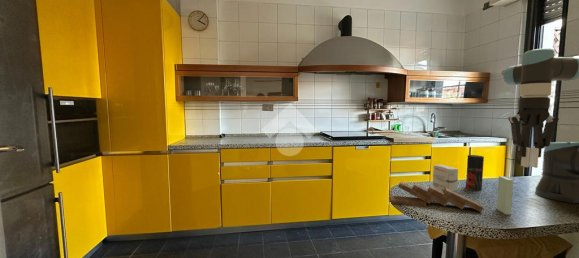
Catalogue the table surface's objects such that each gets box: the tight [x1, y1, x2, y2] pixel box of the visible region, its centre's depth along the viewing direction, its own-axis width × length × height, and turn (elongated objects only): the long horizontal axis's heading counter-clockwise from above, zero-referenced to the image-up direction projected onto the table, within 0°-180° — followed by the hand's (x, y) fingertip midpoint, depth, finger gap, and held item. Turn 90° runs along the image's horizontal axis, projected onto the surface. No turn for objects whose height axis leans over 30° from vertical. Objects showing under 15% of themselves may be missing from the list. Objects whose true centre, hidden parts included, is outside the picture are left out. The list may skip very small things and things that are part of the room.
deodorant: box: [465, 154, 485, 192], centre depth 116 cm, size 6×6×15 cm
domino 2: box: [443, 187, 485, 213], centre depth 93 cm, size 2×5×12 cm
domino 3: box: [428, 185, 466, 210], centre depth 95 cm, size 2×5×12 cm
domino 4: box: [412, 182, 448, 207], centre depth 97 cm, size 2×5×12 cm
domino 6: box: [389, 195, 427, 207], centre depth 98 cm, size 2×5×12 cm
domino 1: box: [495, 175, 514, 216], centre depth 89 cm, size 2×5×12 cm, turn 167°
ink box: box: [432, 164, 459, 193], centre depth 108 cm, size 9×5×12 cm, turn 12°
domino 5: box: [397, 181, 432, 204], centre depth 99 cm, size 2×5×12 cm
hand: (528, 166), depth 87 cm, fingers open, 2 cm apart
